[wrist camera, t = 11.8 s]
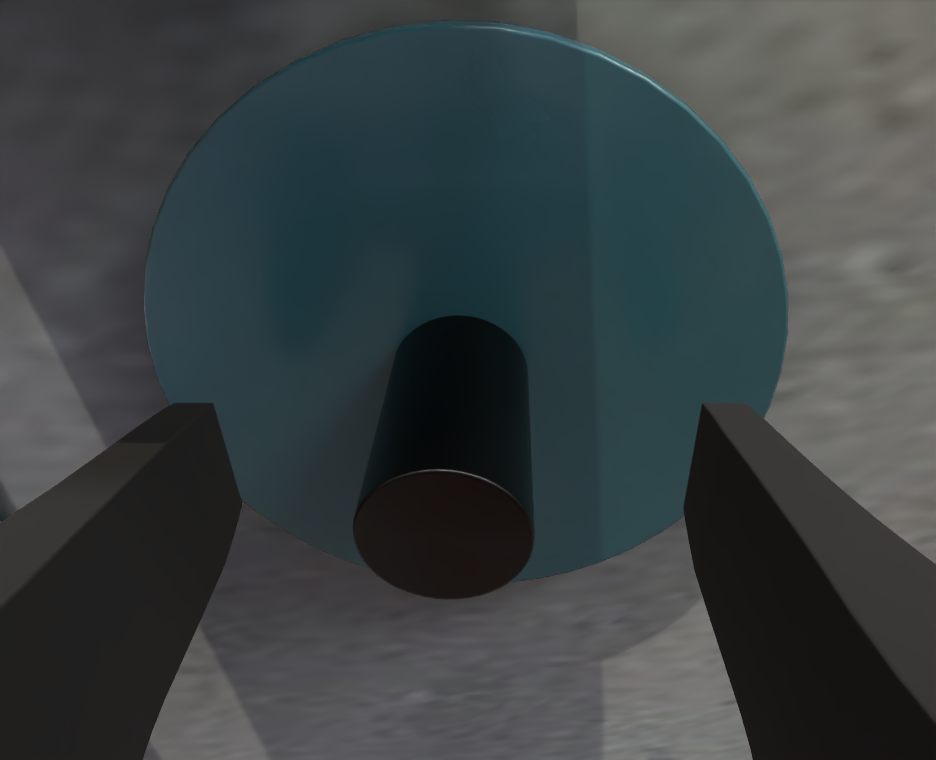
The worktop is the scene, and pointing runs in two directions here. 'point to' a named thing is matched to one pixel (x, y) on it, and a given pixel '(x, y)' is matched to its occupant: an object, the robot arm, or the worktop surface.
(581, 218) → the lid
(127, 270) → the worktop surface
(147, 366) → the worktop surface
